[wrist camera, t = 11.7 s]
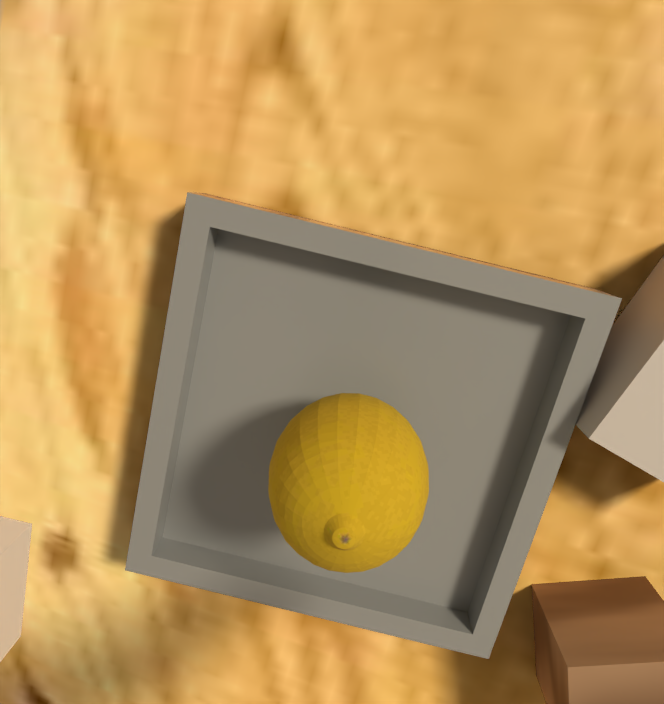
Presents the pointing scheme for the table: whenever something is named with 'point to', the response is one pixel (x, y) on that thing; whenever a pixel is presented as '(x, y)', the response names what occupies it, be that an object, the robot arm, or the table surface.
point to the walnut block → (599, 641)
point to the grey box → (632, 382)
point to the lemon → (348, 482)
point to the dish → (369, 379)
